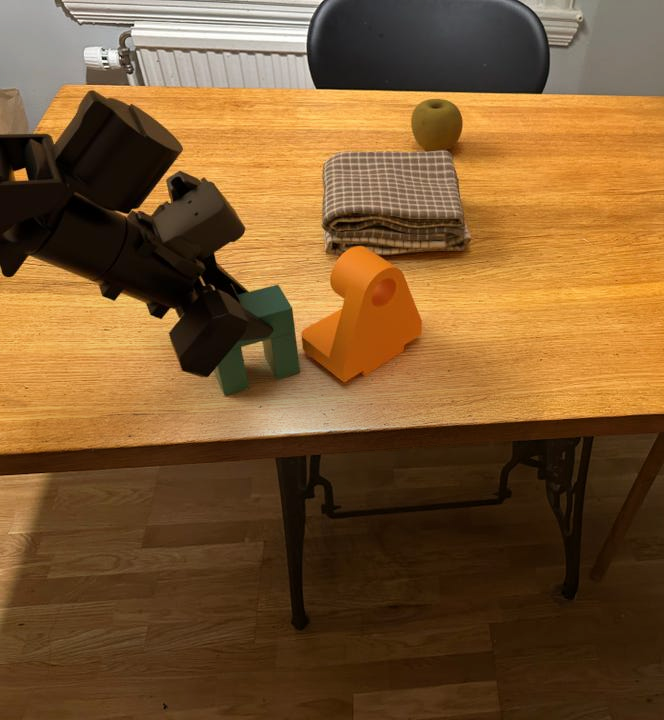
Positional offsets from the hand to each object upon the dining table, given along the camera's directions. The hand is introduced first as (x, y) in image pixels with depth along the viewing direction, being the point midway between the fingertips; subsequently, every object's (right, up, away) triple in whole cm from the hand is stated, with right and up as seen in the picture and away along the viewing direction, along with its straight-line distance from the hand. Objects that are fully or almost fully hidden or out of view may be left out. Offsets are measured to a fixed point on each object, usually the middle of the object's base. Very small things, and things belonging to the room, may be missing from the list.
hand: (262, 318), depth 66 cm
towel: (+10, +13, +25) cm, 30 cm away
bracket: (+8, -3, +8) cm, 12 cm away
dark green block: (-2, -5, +4) cm, 7 cm away
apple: (+14, +29, +43) cm, 53 cm away
